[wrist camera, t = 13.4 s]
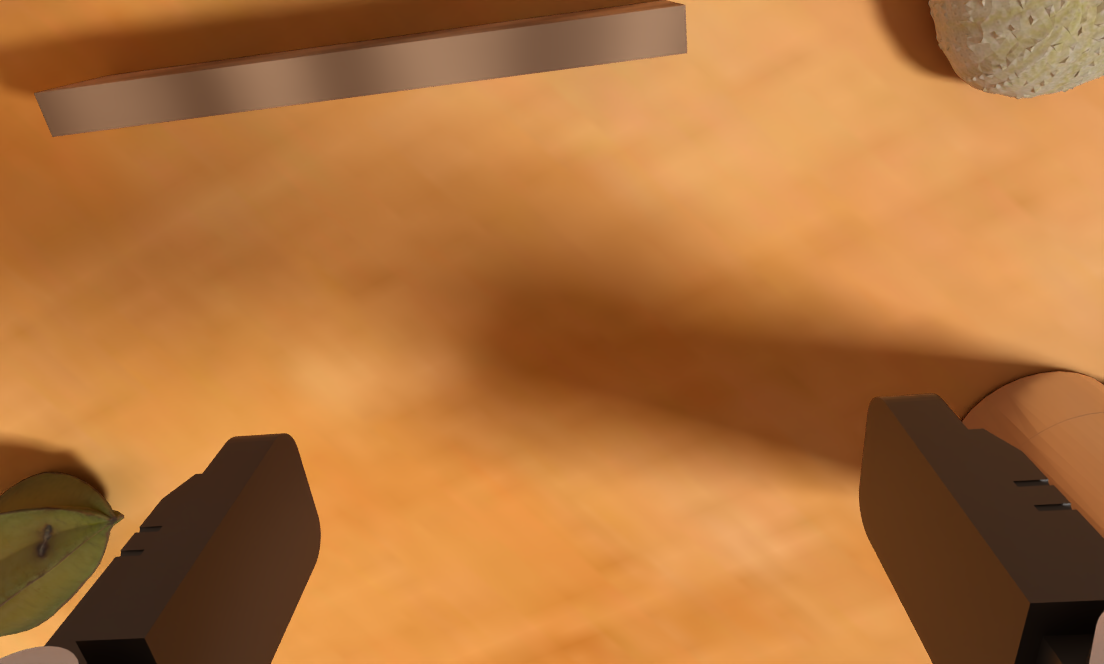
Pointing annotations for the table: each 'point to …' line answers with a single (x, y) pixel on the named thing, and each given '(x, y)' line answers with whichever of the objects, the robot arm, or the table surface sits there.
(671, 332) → the table surface
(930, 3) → the grey oval lump
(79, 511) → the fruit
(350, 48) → the brown wooden plank
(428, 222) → the table surface
